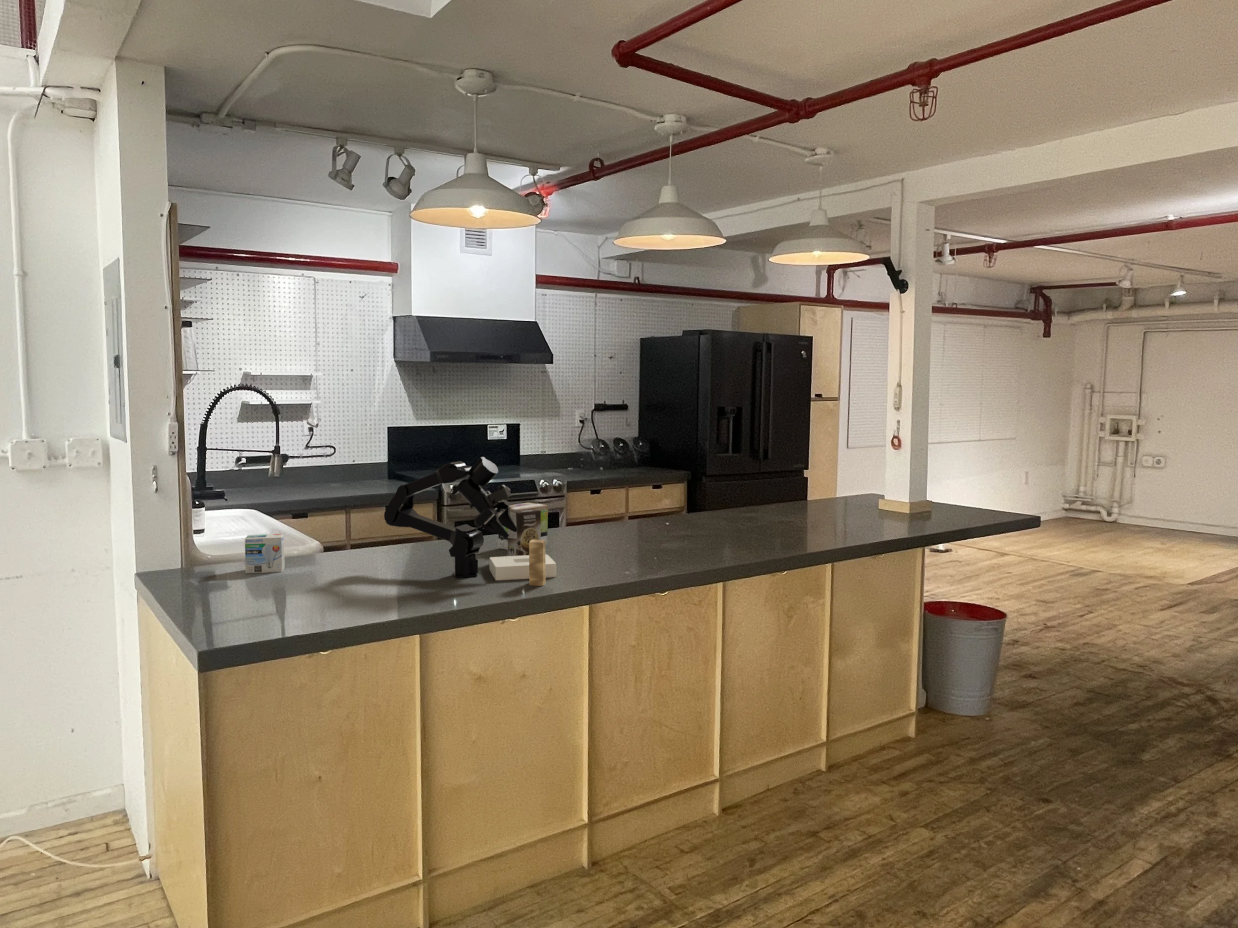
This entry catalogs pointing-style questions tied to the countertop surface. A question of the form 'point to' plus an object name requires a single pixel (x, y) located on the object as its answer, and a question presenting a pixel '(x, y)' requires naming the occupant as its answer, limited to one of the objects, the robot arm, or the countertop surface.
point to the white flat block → (517, 567)
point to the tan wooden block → (537, 562)
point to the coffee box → (524, 531)
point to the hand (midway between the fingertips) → (512, 533)
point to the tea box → (544, 522)
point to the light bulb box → (264, 553)
